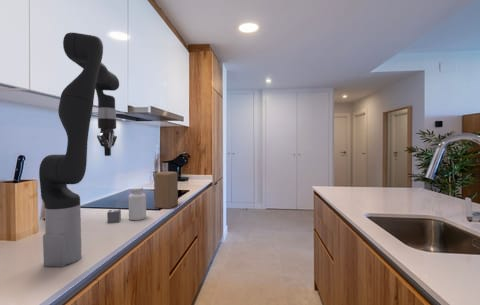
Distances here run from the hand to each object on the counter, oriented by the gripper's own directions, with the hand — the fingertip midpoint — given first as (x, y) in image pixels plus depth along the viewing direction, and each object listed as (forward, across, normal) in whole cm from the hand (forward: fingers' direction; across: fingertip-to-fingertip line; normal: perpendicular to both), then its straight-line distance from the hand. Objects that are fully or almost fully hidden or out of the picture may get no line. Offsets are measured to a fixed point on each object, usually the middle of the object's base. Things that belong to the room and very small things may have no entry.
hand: (107, 155), depth 121 cm
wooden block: (+31, +30, -17) cm, 47 cm away
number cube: (+31, +1, -2) cm, 31 cm away
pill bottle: (+31, +6, -11) cm, 34 cm away
